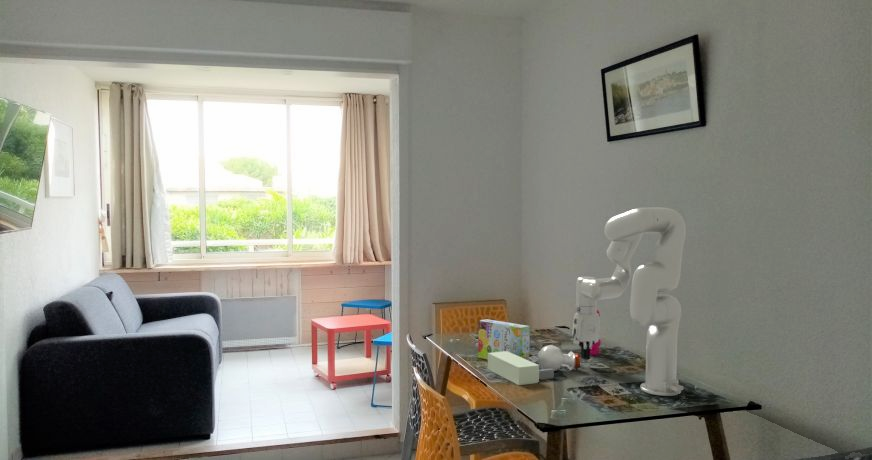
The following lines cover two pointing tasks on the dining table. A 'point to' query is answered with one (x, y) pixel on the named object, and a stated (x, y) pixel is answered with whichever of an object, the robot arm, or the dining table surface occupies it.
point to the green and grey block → (517, 368)
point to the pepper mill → (595, 345)
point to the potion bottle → (557, 358)
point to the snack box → (503, 338)
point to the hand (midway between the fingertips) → (585, 358)
